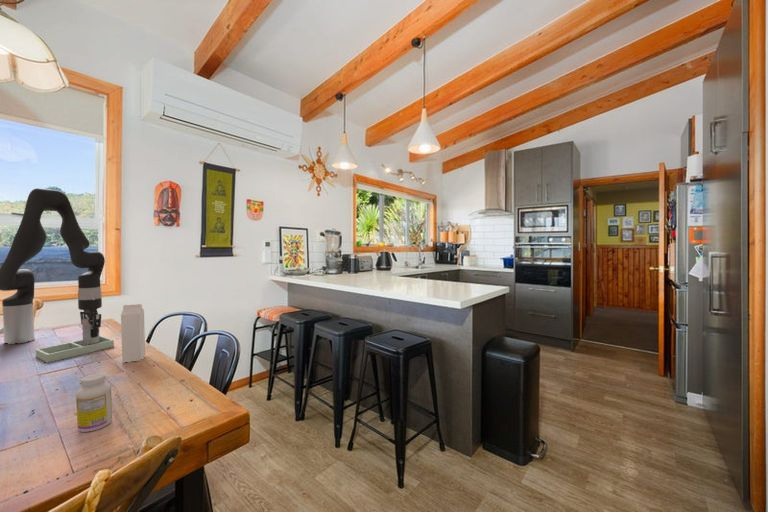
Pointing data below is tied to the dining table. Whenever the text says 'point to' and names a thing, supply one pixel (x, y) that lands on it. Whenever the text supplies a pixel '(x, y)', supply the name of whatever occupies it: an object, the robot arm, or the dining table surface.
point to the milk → (132, 333)
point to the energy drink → (88, 334)
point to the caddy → (71, 349)
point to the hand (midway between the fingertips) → (91, 335)
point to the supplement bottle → (93, 403)
